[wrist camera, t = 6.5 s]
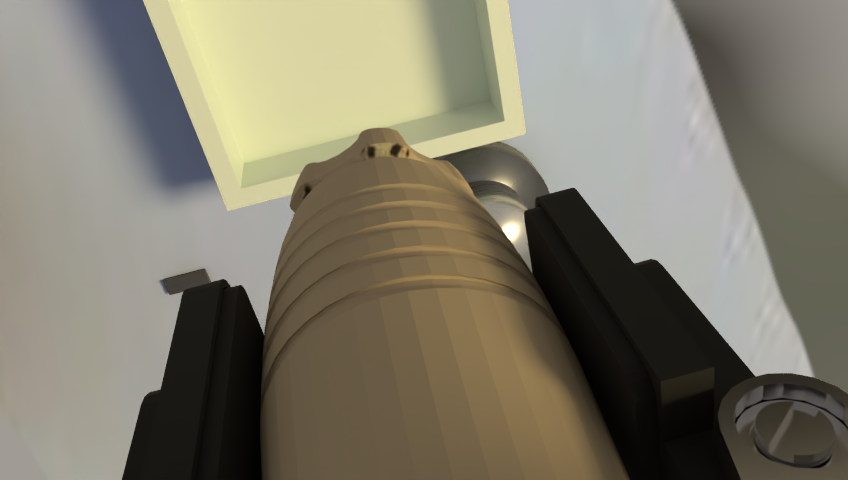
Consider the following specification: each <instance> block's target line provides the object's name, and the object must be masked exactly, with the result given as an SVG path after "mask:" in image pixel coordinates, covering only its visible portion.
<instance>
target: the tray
mask: <svg viewBox="0 0 848 480" xmlns="http://www.w3.org/2000/svg"><path fill="white" fill-rule="evenodd" d="M143 2H144V4H145V7H146V9H147V12H148V14H149V17H150V19H151V22H152V24H153V27H154V29H155V32H156V34H157V37H158V39H159V42H160V44H161V47H162V49H163V51H164V54H165V56H166V59H167V61H168V64H169V66H170V69H171V71H172V74H173V76H174V79H175V81H176V84H177V86H178V89H179V91H180V94H181V96H182V99H183V101H184V104H185V106H186V109H187V111H188V113H189V116H190V118H191V121H192V123H193V126H194V128H195V131H196V133H197V136H198V138H199V141H200V143H201V146H202V148H203V151H204V153H205V156H206V158H207V161H208V163H209V166H210V168H211V171H212V173H213V175H214V178H215V180H216V183H217V185H218V188H219V190H220V193H221V195H222V198H223V200H224V203H225V205H226V208H227V210H228V211H229V210H233V209H237V208H241V207H245V206H249V205H253V204H257V203H261V202H264V201H268V200H272V199H276V198H280V197H284V196H288V195H292V192H293V190H294V187H295V185H296V182H297V180H298V178H299V176H300V174H301V172H302V170H303V169H304V167H305V166H306V165H307V164H309V163H312V162H318V163H319V162H323V161H326V160H328V159H330V158H332V157H335V156H337V155H339V154H340V153H342V152H343V151H345V150H346V149H347V148H349V147H350V146H351V145H352V144H353V143H354V142H355V141H356V140H357V139H358V137H359V135H360V133H361V132H362V131H364V130H367V129H371V128H379V127H380V128H390V129H393V130H396V131H398V132H399V134H400V135H401V136H402V137H403V139H404V140H405V142H406V144H408V145H409V146H410V147H411V148H412V149H414V150H415V151H417V152H418V153H420V154H422V155H424V156H427V157H429V158H435V157H439V156H443V155H447V154H451V153H455V152H458V151H462V150H466V149H470V148H474V147H478V146H482V145H486V144H490V143H493V142H497V141H501V140H505V139H509V138H513V137H517V136H521V135H524V134H526V129H525V122H524V114H523V107H522V100H521V93H520V85H519V78H518V71H517V64H516V56H515V49H514V42H513V35H512V27H511V20H510V13H509V6H508V0H143Z"/></svg>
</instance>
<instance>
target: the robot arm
mask: <svg viewBox="0 0 848 480" xmlns="http://www.w3.org/2000/svg"><path fill="white" fill-rule="evenodd" d="M524 220H525V227H526V234H527V240H528V247H529V254H530V260H531V267H532V274H533V276H534V277H535V279H536V281H537V282H538V284H539V286H540V288H541V289H542V291H543V293H544V295H545V296H546V298H547V300H548V302H549V304H550V305H551V307H552V309H553V312H554V313H555V315H556V317H557V318H558V320H559V322H560V324H561V326H562V328H563V330H564V332H565V333H566V335H567V337H568V339H569V341H570V344H571V346H572V348H573V349H574V351H575V353H576V354H577V357H578V359H579V361H580V364H581V366H582V368H583V371H584V373H585V375H586V378H587V380H588V382H589V385H590V387H591V389H592V392H593V394H594V397H595V399H596V401H597V404H598V406H599V408H600V411H601V413H602V415H603V418H604V420H605V422H606V425H607V427H608V429H609V432H610V434H611V436H612V439H613V441H614V443H615V446H616V448H617V450H618V453H619V455H620V457H621V460H622V462H623V464H624V467H625V469H626V471H627V474H628V476H629V478H630V480H848V393H846V392H845V391H843V390H842V389H840V388H839V387H837V386H835V385H832V384H829V383H827V382H824V381H821V380H819V379H817V378H814V377H808V376H803V375H797V374H792V373H778V374H765V375H760V376H756V377H755V376H754V374H753V373H752V372H751V371H750V370H749V368H748V367H747V366H746V365H745V364H744V362H743V361H742V360H741V359H740V358H739V356H738V355H737V354H736V353H735V352H734V350H733V349H732V348H731V347H730V346H729V344H728V343H727V342H726V341H725V340H724V339H723V337H722V336H721V335H720V334H719V333H718V331H717V330H716V329H715V328H714V327H713V325H712V324H711V323H710V322H709V321H708V319H707V318H706V317H705V316H704V315H703V313H702V312H701V311H700V310H699V309H698V308H697V306H696V305H695V304H694V303H693V302H692V300H691V299H690V298H689V297H688V296H687V294H686V293H685V292H684V291H683V290H682V288H681V287H680V286H679V285H678V284H677V282H676V281H675V280H674V279H673V278H672V277H671V275H670V274H669V273H668V272H667V271H666V269H665V268H664V267H663V266H662V265H661V264H660V263H659V262H658V261H657V260H653V259H650V260H646V261H642V262H639V263H635V264H634V263H633V262H632V261H631V259H630V258H629V257H628V255H627V254H626V253H625V252H624V250H623V249H622V248H621V246H620V245H619V244H618V243H617V241H616V240H615V239H614V237H613V236H612V235H611V234H610V232H609V231H608V230H607V228H606V227H605V226H604V225H603V223H602V222H601V221H600V219H599V218H598V217H597V216H596V214H595V213H594V212H593V210H592V209H591V208H590V206H589V205H588V204H587V203H586V201H585V200H584V199H583V197H582V196H581V195H580V194H579V192H578V191H577V190H576V189H575V188H570V189H566V190H562V191H558V192H555V193H551V194H547V195H543V196H539V197H536V199H535V208H532V209H529V210H525V211H524ZM263 344H264V334H263V331H262V329H261V327H260V324H259V322H258V319H257V317H256V315H255V312H254V310H253V307H252V305H251V303H250V300H249V298H248V295H247V293H246V291H245V289H244V288H243V286H241V285H239V286H235V287H230V285H229V284H228V282H227V281H226V280H224V279H222V280H218V281H214V282H211V283H207V284H203V285H199V286H195V287H191V288H188V289H185V290H184V292H183V295H182V299H181V303H180V308H179V312H178V316H177V321H176V325H175V329H174V334H173V338H172V342H171V347H170V351H169V356H168V360H167V364H166V369H165V373H164V377H163V382H162V386H161V390H157V391H153V392H150V393H148V394H147V395H146V396H145V397H144V399H143V402H142V404H141V407H140V411H139V415H138V419H137V423H136V427H135V431H134V435H133V439H132V443H131V446H130V450H129V454H128V458H127V462H126V466H125V470H124V474H123V478H122V480H262V472H261V448H260V414H261V382H262V360H263Z"/></svg>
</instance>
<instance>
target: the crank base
mask: <svg viewBox="0 0 848 480" xmlns="http://www.w3.org/2000/svg"><path fill="white" fill-rule="evenodd" d="M431 159H434V160H445V161H448V162H450V163H451V164H452V165H453V166H454V167H455V168H456V169H457V170H458V171H459V172H460V173H461V175H462V176H463V177H464V179H465V180H466V181H467V183H472V182H476V181H485V180H488V181H496V182H500V183H503V184H505V185H507V186H509V187H511V188H512V189H513V190H515V191H516V192H517V193H518V195H519V196H520V197H521V199H522V200H523V202H524V204H525V205H526V207H527V209H528V210H529V209H532V208H535V199H536V197H539V196H543V195H547V194H549V191H548V188H547V186H546V184H545V182H544V180H543V179H542V177H541V176H540V174H539V173H538V172H537V170H536V169H535V167H534V166H533V165H532V163H531V162H530V161H529V159H528V158H527V157H526V156H524V155H523V154H522V153H521V152H520V151H518V150H517V149H515V148H513V147H511V146H509V145H507V144H504V143H501V142H498V141H497V142H493V143H490V144H486V145H482V146H478V147H474V148H470V149H466V150H462V151H458V152H455V153H451V154H447V155H443V156H439V157H435V158H431ZM163 282H164V284H165V286H166V288H167V290H168V292H169V294H170V295H171V294H175V293H179V292H183V291H184V290H185V289H188V288H191V287H195V286H199V285H203V284H207V283H211V281H210V279H209V277H208V274H207V272H206V270H205V269H202V270H198V271H194V272H190V273H186V274H183V275H179V276H175V277H171V278H167V279H164V281H163Z"/></svg>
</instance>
